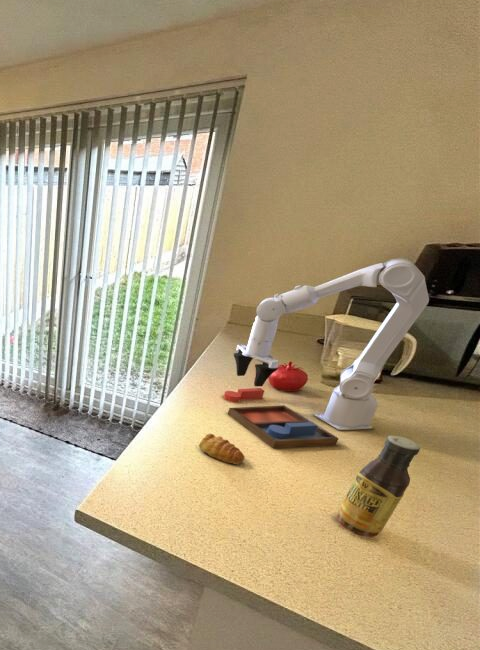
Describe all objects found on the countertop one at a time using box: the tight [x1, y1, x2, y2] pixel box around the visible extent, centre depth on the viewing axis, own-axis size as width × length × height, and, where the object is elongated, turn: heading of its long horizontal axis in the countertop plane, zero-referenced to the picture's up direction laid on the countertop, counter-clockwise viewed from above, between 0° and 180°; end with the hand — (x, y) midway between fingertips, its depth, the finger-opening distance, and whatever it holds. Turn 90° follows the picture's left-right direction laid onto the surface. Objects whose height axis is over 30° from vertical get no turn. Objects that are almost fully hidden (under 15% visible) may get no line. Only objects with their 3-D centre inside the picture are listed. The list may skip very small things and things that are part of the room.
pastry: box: [198, 433, 246, 465], centre depth 96 cm, size 9×7×4 cm
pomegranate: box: [267, 360, 309, 392], centre depth 128 cm, size 10×10×9 cm
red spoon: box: [223, 387, 265, 403], centre depth 123 cm, size 12×4×3 cm, turn 93°
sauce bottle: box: [336, 435, 421, 538], centre depth 71 cm, size 7×6×20 cm
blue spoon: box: [267, 421, 319, 439], centre depth 102 cm, size 12×4×3 cm, turn 93°
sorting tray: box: [227, 404, 340, 449], centre depth 107 cm, size 17×17×2 cm
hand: (249, 380), depth 121 cm, fingers open, 7 cm apart
